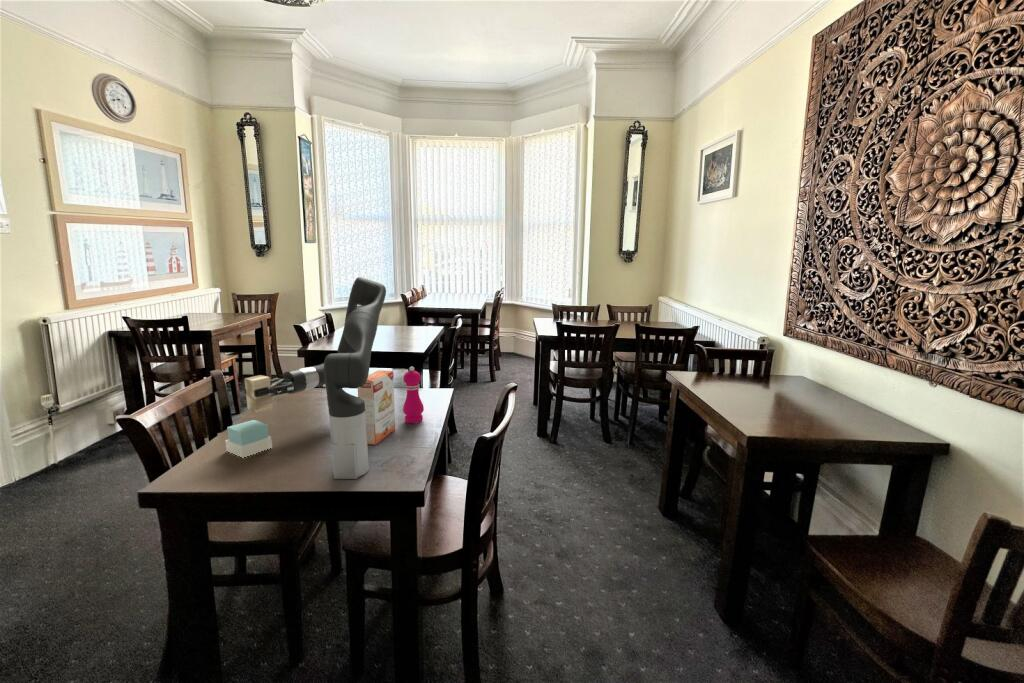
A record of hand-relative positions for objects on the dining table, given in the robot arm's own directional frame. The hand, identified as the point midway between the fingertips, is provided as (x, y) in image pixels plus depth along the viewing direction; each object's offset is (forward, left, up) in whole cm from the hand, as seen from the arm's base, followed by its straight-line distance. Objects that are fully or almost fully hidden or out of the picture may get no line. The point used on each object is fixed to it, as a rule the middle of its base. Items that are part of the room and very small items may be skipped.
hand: (249, 392), depth 141 cm
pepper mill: (+25, -43, -18) cm, 53 cm away
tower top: (-1, +1, -14) cm, 14 cm away
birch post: (+2, -1, -6) cm, 7 cm away
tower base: (-1, +1, -18) cm, 18 cm away
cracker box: (+10, -35, -18) cm, 41 cm away
